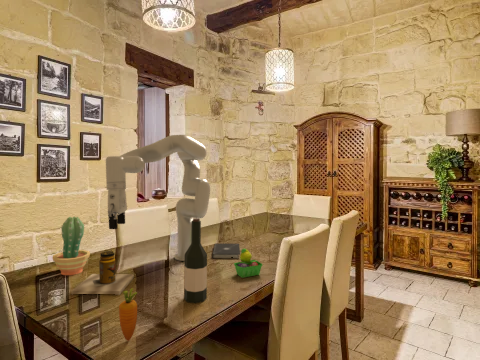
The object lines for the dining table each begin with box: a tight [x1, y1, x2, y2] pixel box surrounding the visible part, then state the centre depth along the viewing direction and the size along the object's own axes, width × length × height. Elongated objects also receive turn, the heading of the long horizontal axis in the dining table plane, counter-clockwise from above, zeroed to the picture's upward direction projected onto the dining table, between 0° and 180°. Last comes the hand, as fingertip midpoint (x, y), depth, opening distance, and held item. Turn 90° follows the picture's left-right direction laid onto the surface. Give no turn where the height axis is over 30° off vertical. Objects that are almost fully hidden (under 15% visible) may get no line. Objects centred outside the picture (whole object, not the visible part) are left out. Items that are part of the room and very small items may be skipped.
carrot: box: [118, 287, 138, 342], centre depth 89 cm, size 5×5×15 cm
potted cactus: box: [51, 216, 91, 276], centre depth 143 cm, size 15×15×25 cm
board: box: [70, 273, 135, 296], centre depth 128 cm, size 18×18×2 cm
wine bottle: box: [183, 218, 208, 304], centre depth 117 cm, size 8×8×30 cm
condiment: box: [92, 250, 118, 287], centre depth 128 cm, size 7×8×12 cm
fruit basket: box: [233, 248, 263, 279], centre depth 144 cm, size 11×9×11 cm
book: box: [211, 243, 241, 259], centre depth 178 cm, size 22×15×3 cm
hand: (117, 226), depth 133 cm, fingers open, 9 cm apart
